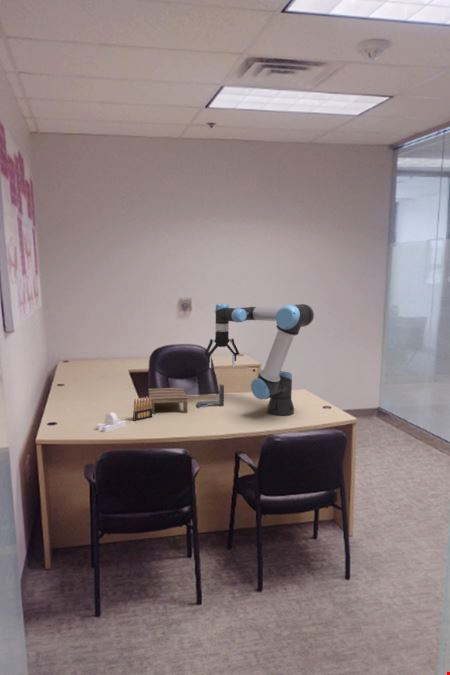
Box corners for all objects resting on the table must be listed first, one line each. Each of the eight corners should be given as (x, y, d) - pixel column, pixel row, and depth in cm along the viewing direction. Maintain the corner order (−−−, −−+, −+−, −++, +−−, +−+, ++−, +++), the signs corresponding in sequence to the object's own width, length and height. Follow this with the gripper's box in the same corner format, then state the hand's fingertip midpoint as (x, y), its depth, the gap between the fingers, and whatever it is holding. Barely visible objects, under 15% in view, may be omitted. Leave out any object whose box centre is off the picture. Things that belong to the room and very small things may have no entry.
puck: (208, 407, 289) (208, 405, 289) (200, 407, 288) (200, 406, 288) (207, 405, 294) (207, 403, 294) (198, 405, 293) (198, 403, 293)
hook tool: (224, 406, 290) (224, 386, 288) (198, 407, 287) (198, 387, 285) (222, 403, 297) (222, 383, 295) (196, 404, 294) (196, 384, 292)
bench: (187, 412, 277) (187, 397, 276) (150, 414, 274) (150, 399, 272) (182, 401, 301) (182, 387, 299) (148, 402, 297) (148, 388, 296)
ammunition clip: (134, 421, 262) (134, 398, 260) (133, 420, 263) (132, 398, 262) (152, 417, 268) (152, 395, 267) (150, 416, 270) (150, 395, 268)
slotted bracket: (117, 423, 258) (117, 408, 257) (126, 426, 254) (125, 411, 253) (96, 429, 248) (96, 414, 247) (105, 432, 244) (104, 417, 243)
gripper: (241, 329, 293) (241, 365, 296) (199, 330, 288) (199, 366, 291) (244, 331, 286) (244, 367, 289) (201, 331, 281) (201, 369, 284)
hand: (221, 367), depth 290 cm, fingers open, 13 cm apart
